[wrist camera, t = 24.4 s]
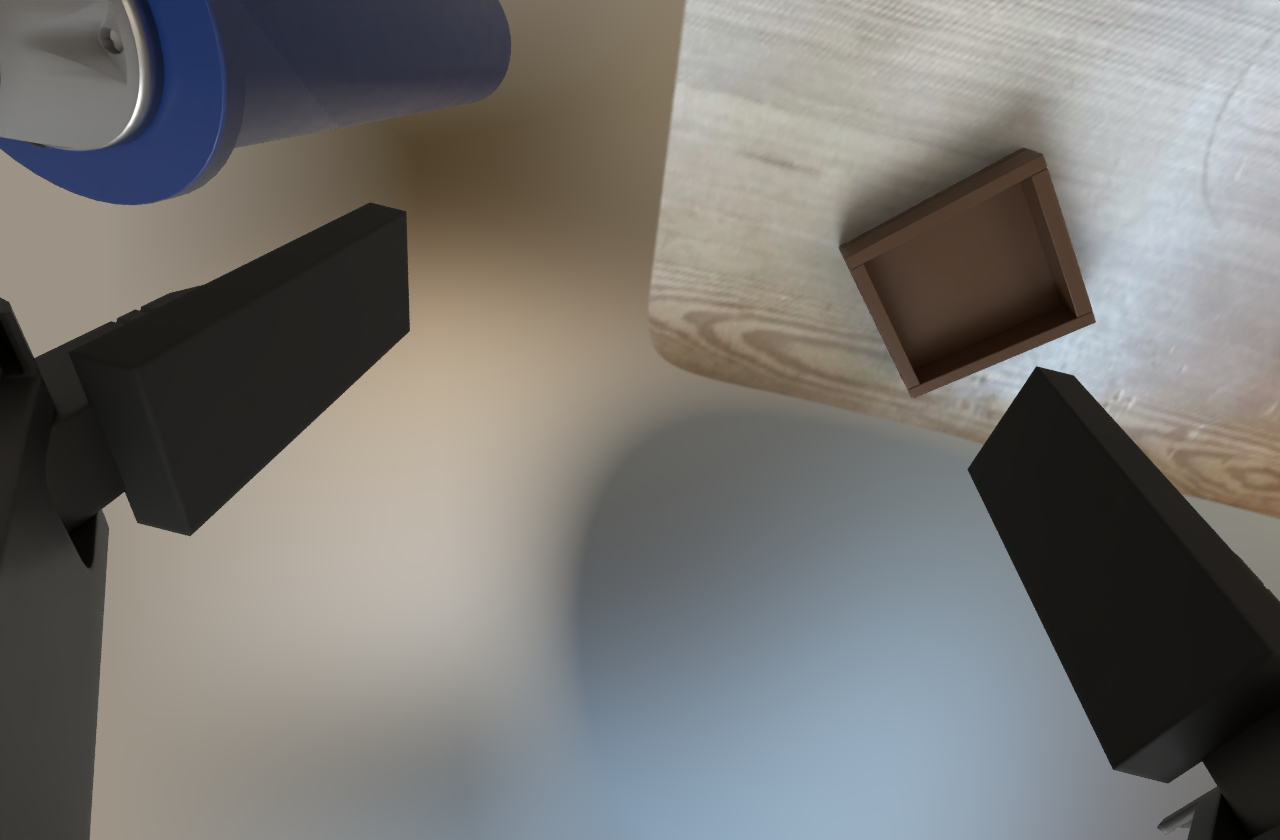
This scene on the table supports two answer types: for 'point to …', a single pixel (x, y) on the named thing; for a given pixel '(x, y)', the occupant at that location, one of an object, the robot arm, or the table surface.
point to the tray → (972, 274)
